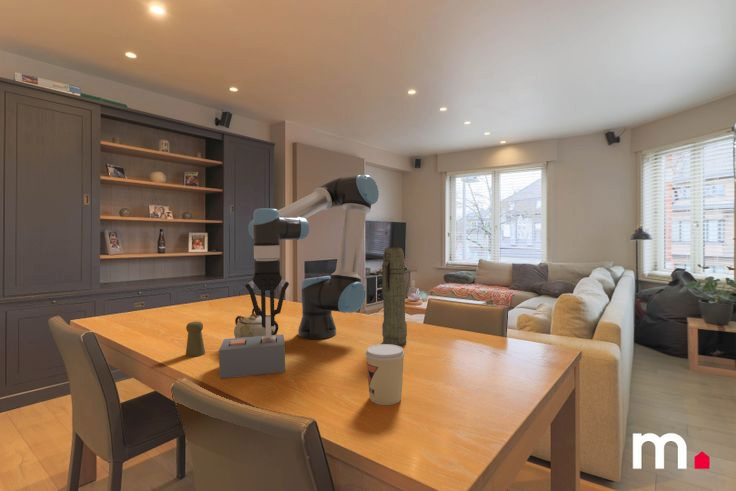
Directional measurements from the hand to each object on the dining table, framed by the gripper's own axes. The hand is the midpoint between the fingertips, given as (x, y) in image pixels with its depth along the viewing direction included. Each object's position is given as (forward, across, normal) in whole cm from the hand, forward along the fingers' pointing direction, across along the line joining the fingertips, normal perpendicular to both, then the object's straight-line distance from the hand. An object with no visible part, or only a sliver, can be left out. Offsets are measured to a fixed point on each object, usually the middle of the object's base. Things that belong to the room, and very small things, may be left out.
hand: (268, 337), depth 114 cm
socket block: (+9, +4, 0) cm, 10 cm away
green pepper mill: (+9, +24, -20) cm, 33 cm away
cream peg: (+8, 0, 0) cm, 8 cm away
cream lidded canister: (+9, -28, +31) cm, 42 cm away
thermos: (+9, -45, -13) cm, 47 cm away
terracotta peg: (+9, +9, 0) cm, 12 cm away
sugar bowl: (+9, +4, -21) cm, 23 cm away
